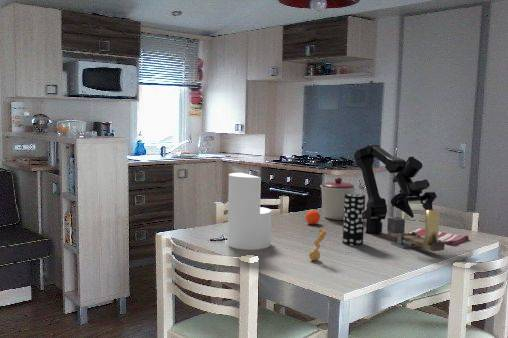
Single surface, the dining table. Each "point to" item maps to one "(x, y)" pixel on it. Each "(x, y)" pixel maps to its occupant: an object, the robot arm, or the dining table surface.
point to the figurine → (315, 253)
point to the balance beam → (398, 226)
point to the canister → (335, 198)
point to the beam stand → (404, 242)
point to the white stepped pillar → (247, 214)
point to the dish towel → (442, 237)
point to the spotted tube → (353, 219)
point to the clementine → (312, 217)
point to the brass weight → (431, 226)
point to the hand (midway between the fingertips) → (422, 216)
